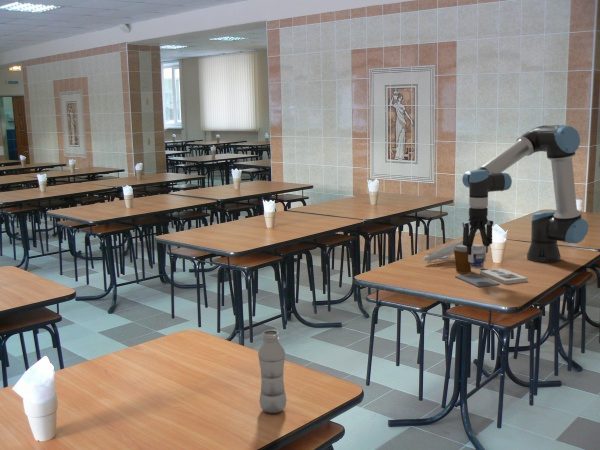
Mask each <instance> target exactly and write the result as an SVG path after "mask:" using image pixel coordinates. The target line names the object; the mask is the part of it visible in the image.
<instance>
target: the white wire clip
mask: <svg viewBox="0 0 600 450" xmlns="http://www.w3.org/2000/svg"><path fill="white" fill-rule="evenodd" d="M458 243H463V239H462V240H460V241H457V242H455V241H451V242H450V243H448V244H446V245H444V246H442V247H440V248H437V249H436V250H433V251H431V252H429V253H427V254H426V255H425V256H423V261H425V262H426V263H429V264H430V262H432V261H436V260H437V261H436V262H435V263H434V265H435V266H436V265H438V264H440V263H441V262H453V263H455V258H450V257H451V256H452V255H453V254H454V249H453V247H454V244H458ZM438 259H439V260H438Z"/></svg>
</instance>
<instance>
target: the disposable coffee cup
mask: <svg viewBox="0 0 600 450" xmlns="http://www.w3.org/2000/svg"><path fill="white" fill-rule="evenodd" d="M473 245H474V244H473ZM473 245H472V247H473ZM453 249H454V259H455V262H454V263H455V270H456V273H462V274H463V273H465V274H466V273H470V272H471V270H472V268H471V266H470V264H471V262H468V254H467V246H464V245H463V243H458V244H454V247H453Z"/></svg>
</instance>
